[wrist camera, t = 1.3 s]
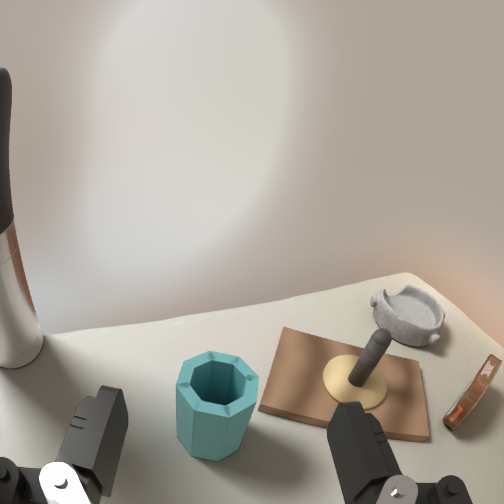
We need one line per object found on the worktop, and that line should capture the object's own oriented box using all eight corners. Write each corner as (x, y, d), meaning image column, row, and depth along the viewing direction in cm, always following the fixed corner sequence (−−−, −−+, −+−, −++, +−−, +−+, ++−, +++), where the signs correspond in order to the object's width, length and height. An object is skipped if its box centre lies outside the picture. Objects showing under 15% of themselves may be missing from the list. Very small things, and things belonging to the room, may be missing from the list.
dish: (356, 317, 50) (367, 294, 48) (391, 293, 59) (400, 273, 57) (420, 365, 41) (436, 343, 39) (445, 331, 50) (457, 311, 47)
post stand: (257, 410, 32) (280, 350, 26) (281, 334, 44) (300, 273, 39) (423, 442, 28) (473, 391, 23) (413, 367, 41) (448, 315, 35)
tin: (444, 440, 28) (483, 404, 24) (430, 427, 31) (467, 389, 26) (480, 390, 36) (509, 355, 32) (468, 380, 38) (496, 344, 34)
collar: (173, 451, 25) (169, 404, 20) (186, 403, 31) (188, 346, 26) (236, 464, 25) (254, 421, 20) (242, 415, 31) (260, 360, 26)
